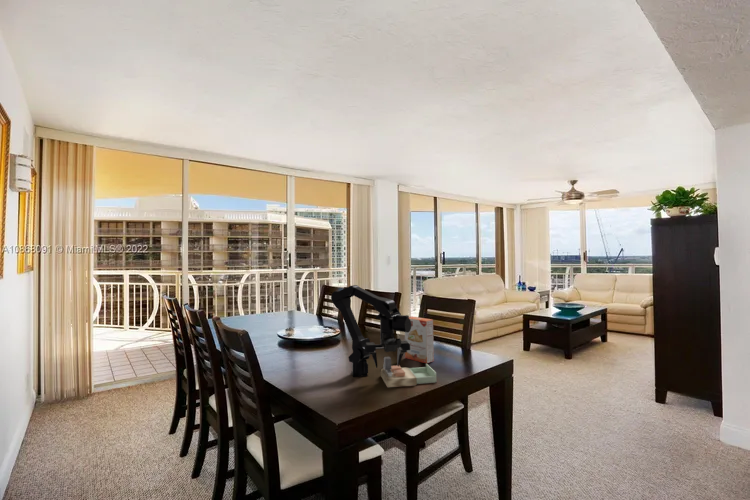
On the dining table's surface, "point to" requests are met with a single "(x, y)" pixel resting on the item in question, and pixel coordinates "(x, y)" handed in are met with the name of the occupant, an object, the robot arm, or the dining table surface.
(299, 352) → the dining table surface
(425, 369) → the tray
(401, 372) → the tile
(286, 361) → the dining table surface
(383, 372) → the board
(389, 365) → the scraper
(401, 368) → the tile
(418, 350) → the cracker box
